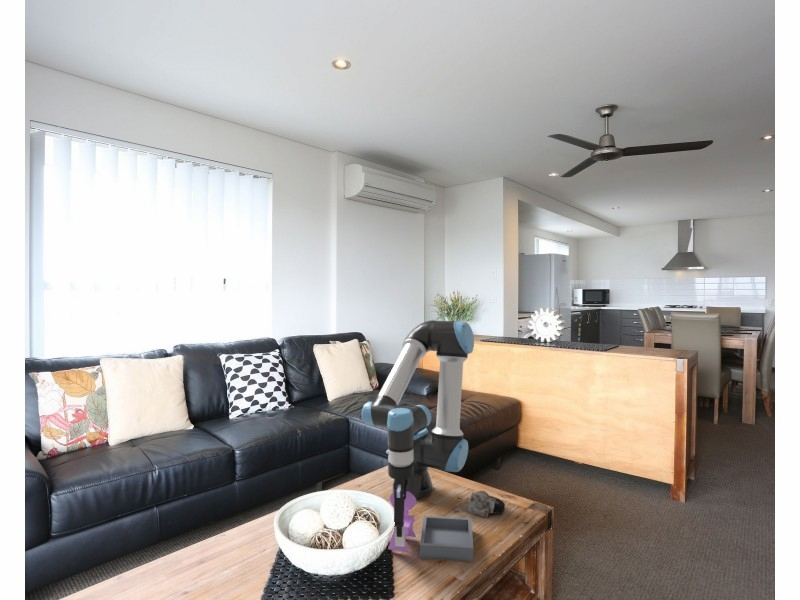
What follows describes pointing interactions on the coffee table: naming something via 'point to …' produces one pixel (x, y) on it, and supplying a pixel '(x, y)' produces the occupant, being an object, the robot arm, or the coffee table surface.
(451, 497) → the coffee table surface
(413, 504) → the toy chair
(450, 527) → the tray
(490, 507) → the grey brown rock
